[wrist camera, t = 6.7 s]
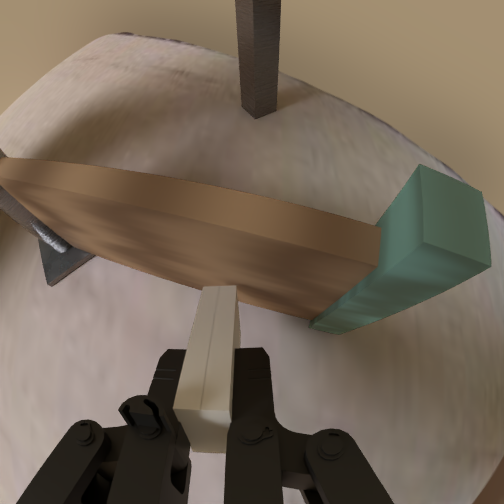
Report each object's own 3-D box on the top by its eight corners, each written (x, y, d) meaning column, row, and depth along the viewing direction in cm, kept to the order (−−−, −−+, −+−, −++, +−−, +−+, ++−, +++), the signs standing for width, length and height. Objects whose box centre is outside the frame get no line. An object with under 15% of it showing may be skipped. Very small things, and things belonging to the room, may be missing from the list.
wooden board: (75, 254, 19) (-39, 155, 7) (85, 231, 19) (-18, 123, 7) (338, 334, 16) (491, 266, 4) (345, 304, 17) (481, 192, 5)
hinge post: (51, 286, 18) (-100, 186, 3) (40, 232, 20) (-72, 125, 5) (104, 249, 19) (-38, 98, 5) (87, 196, 21) (-12, 60, 6)
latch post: (255, 118, 24) (251, -45, 9) (241, 106, 25) (232, -47, 10) (276, 110, 24) (282, -46, 10) (262, 98, 25) (261, -48, 10)
